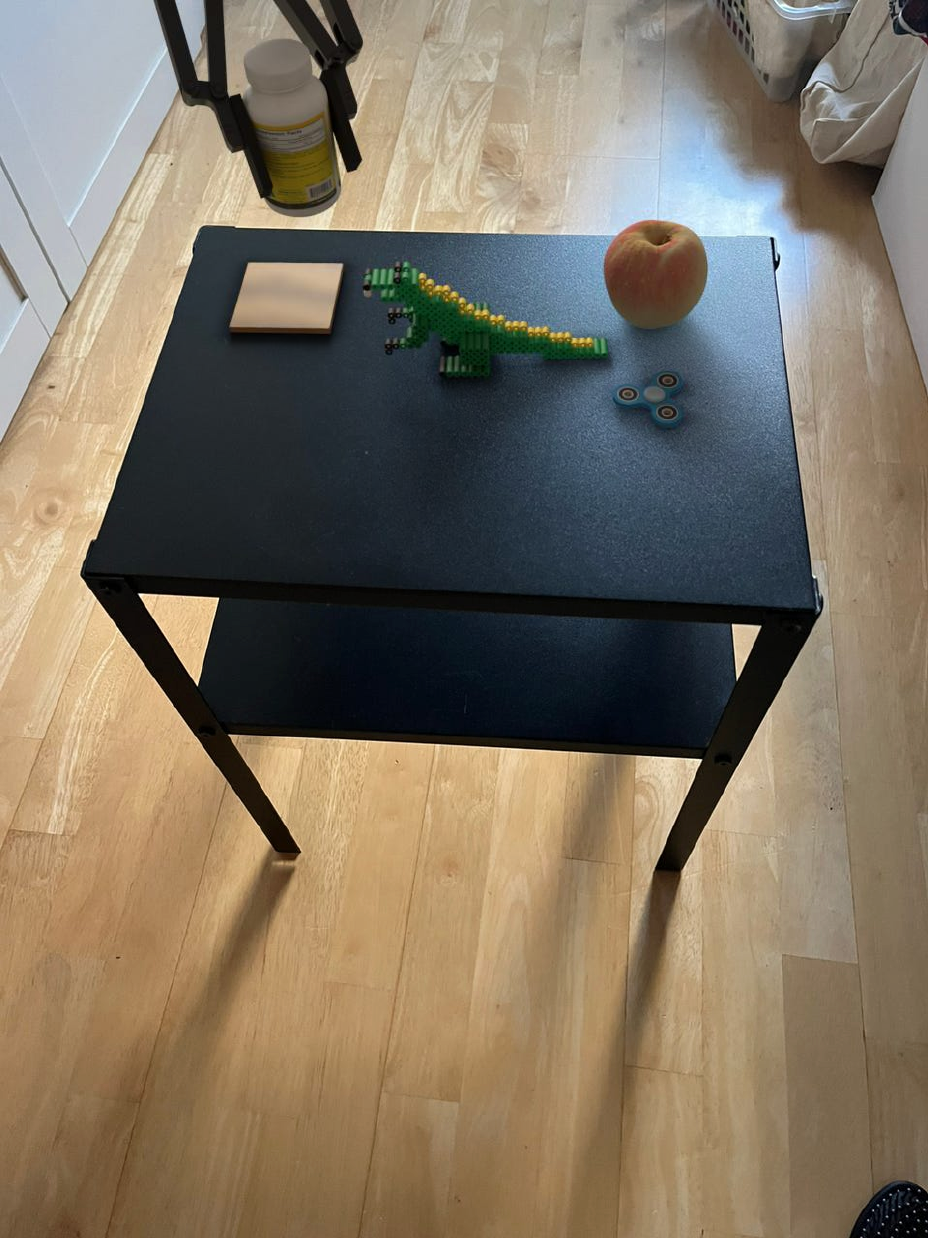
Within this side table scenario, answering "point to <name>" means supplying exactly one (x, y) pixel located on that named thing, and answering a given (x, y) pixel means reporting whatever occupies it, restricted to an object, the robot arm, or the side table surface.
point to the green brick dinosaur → (466, 325)
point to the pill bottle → (292, 127)
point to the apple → (655, 273)
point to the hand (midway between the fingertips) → (311, 178)
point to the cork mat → (287, 298)
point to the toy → (653, 398)
